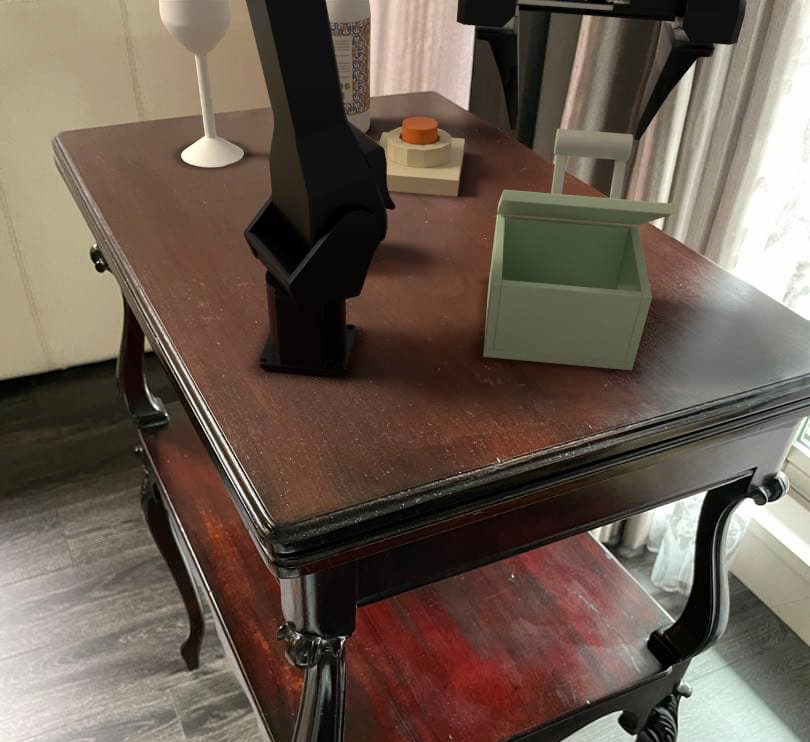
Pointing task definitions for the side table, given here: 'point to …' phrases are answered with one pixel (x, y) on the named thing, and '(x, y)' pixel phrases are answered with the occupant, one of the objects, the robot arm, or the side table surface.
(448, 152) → the control block
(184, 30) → the champagne flute
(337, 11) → the bath foam
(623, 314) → the compartment
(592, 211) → the compartment lid
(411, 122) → the button
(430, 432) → the side table surface
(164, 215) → the side table surface
